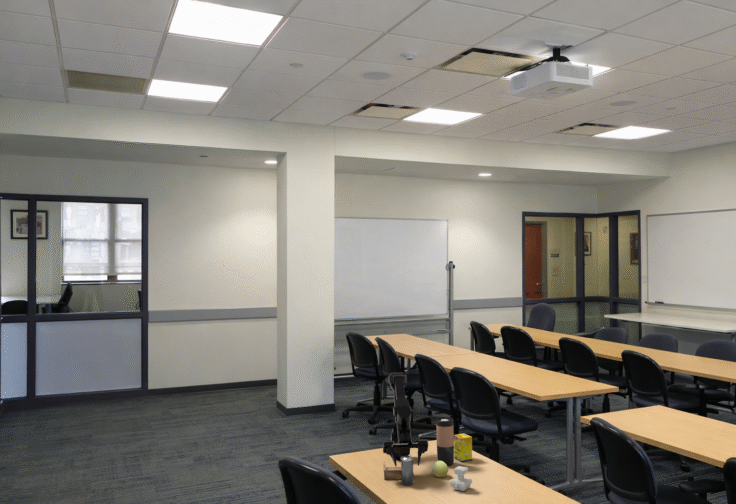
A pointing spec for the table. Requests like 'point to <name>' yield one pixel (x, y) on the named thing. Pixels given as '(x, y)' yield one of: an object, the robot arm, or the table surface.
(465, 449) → the supplement box
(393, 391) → the robot arm
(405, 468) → the canister
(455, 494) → the table surface
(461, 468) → the stamp
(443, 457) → the travel mug
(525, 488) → the table surface
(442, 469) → the tennis ball
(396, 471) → the holder
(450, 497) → the table surface
